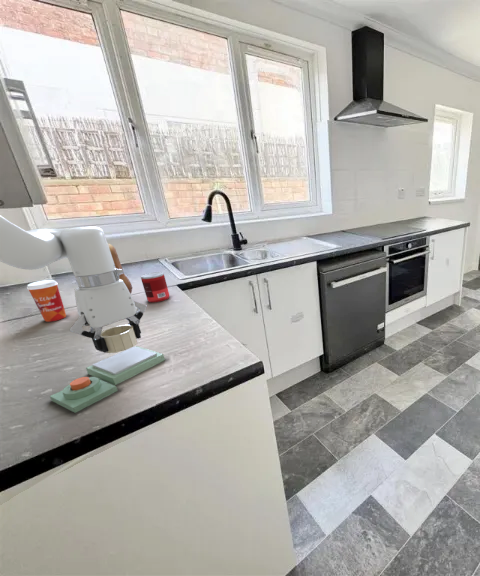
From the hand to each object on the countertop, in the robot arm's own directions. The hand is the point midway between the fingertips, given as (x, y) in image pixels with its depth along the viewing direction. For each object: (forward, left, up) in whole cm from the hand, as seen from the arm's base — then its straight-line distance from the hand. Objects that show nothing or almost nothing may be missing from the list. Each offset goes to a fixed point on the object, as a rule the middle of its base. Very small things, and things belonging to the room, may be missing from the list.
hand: (120, 343), depth 80 cm
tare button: (-11, -4, -5) cm, 13 cm away
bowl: (0, 0, -1) cm, 1 cm away
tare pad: (-11, -4, -7) cm, 14 cm away
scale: (0, 0, -7) cm, 7 cm away
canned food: (+36, +45, -7) cm, 58 cm away
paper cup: (+9, +61, -7) cm, 62 cm away
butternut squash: (+26, +57, -7) cm, 63 cm away
